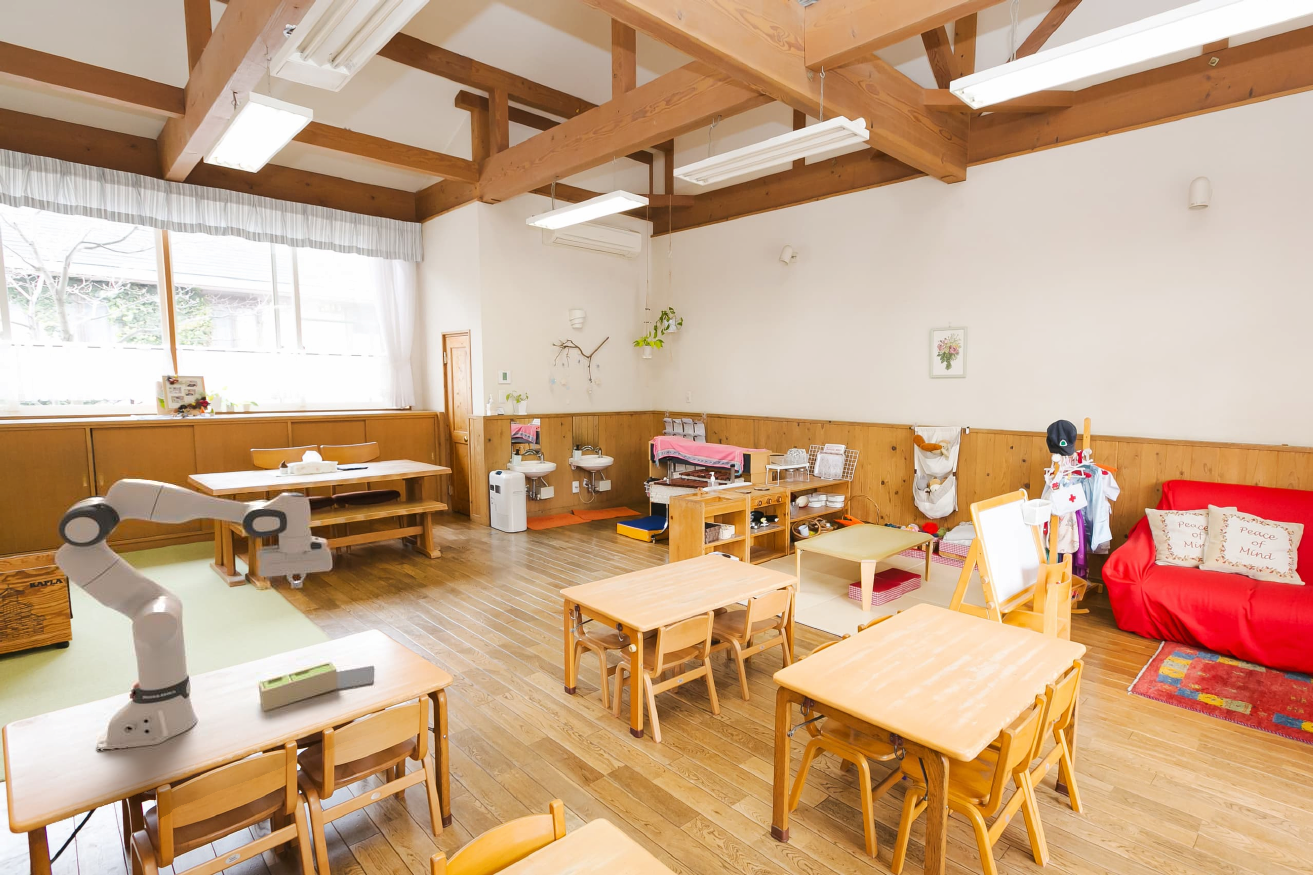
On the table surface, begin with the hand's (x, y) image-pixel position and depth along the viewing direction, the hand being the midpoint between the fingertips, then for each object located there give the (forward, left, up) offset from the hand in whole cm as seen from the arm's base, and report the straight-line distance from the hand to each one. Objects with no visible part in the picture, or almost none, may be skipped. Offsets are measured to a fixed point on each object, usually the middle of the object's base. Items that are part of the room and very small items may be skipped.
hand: (296, 587), depth 199 cm
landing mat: (+12, +9, -37) cm, 39 cm away
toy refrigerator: (+9, +5, -32) cm, 34 cm away
